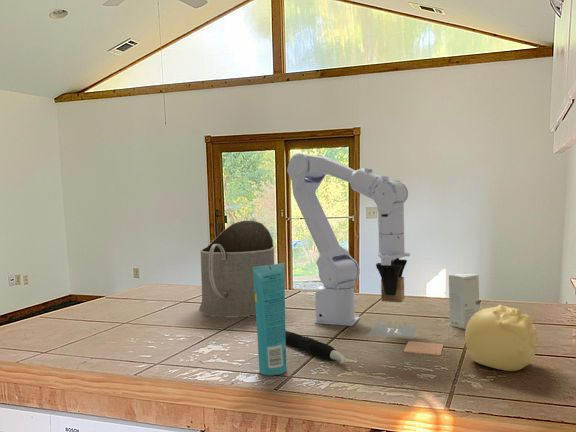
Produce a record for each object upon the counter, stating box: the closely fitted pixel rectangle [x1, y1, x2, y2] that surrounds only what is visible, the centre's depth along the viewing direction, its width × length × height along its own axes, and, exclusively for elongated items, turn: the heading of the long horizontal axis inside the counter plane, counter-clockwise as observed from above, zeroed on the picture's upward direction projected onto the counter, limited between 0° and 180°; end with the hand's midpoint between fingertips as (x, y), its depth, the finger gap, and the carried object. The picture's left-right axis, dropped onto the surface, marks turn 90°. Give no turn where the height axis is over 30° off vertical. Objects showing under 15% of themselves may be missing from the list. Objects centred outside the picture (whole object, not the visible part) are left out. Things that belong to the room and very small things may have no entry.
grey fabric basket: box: [198, 220, 275, 318], centre depth 132 cm, size 23×32×25 cm
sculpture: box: [464, 304, 539, 372], centre depth 84 cm, size 12×12×11 cm
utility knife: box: [285, 330, 346, 365], centre depth 93 cm, size 22×4×3 cm, turn 36°
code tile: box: [366, 323, 419, 340], centre depth 107 cm, size 10×10×1 cm
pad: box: [402, 340, 444, 357], centre depth 94 cm, size 7×7×1 cm
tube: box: [253, 262, 287, 376], centre depth 84 cm, size 7×5×19 cm, turn 140°
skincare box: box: [448, 272, 480, 330], centre depth 111 cm, size 6×4×12 cm
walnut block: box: [380, 276, 405, 303], centre depth 107 cm, size 4×4×5 cm
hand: (392, 292), depth 107 cm, fingers closed on walnut block, 4 cm apart
